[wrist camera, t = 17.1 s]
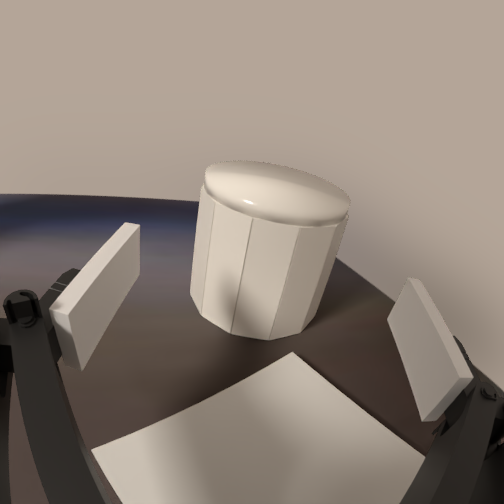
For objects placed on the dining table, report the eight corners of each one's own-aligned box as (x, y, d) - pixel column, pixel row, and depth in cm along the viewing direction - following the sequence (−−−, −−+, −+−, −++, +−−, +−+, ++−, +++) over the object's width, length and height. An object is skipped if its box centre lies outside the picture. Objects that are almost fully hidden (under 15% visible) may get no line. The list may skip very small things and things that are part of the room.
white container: (165, 292, 26) (173, 170, 21) (240, 251, 34) (257, 156, 29) (275, 360, 21) (317, 227, 16) (331, 296, 29) (366, 194, 25)
